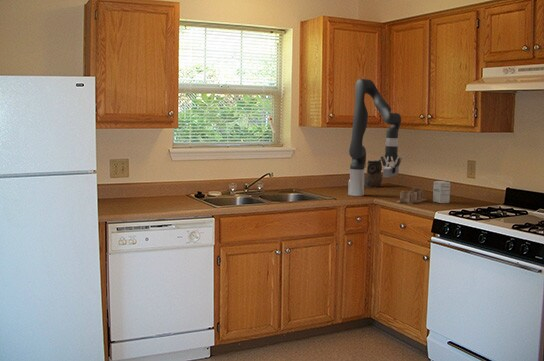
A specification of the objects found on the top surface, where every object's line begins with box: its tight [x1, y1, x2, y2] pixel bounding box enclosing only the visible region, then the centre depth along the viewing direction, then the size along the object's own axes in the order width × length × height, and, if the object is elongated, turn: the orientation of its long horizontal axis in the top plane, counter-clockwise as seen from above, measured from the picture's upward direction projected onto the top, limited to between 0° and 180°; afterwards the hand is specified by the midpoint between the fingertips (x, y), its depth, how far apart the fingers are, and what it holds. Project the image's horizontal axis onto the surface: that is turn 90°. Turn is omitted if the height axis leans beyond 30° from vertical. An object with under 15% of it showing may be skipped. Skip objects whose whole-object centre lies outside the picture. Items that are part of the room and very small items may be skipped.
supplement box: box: [432, 180, 451, 204], centre depth 391 cm, size 7×7×13 cm
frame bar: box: [382, 164, 400, 178], centre depth 396 cm, size 4×14×6 cm, turn 143°
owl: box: [364, 158, 383, 189], centre depth 465 cm, size 13×13×20 cm
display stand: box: [396, 187, 427, 205], centre depth 393 cm, size 10×20×7 cm, turn 143°
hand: (390, 173), depth 396 cm, fingers closed on frame bar, 3 cm apart
